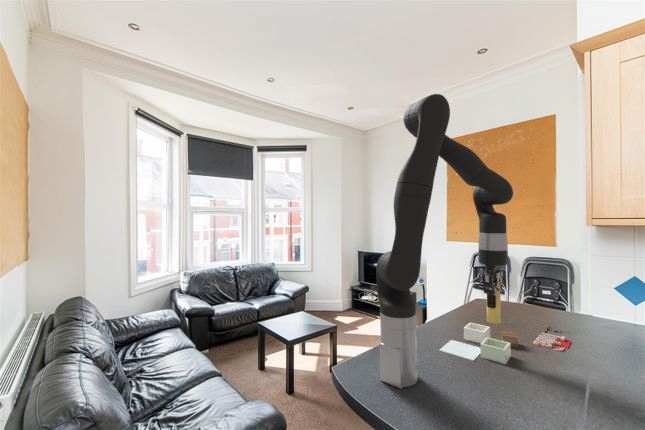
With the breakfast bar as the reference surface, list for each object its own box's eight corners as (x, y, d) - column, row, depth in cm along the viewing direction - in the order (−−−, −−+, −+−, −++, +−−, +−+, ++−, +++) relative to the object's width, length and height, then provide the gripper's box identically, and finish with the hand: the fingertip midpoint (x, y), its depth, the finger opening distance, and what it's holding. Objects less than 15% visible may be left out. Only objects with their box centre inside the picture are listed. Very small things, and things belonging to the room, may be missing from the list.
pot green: (505, 366, 82) (505, 350, 82) (480, 359, 86) (480, 343, 86) (511, 358, 86) (510, 342, 86) (487, 351, 91) (486, 337, 91)
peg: (499, 324, 84) (498, 293, 84) (485, 321, 87) (484, 291, 87) (502, 321, 87) (501, 291, 87) (488, 318, 89) (488, 289, 89)
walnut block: (517, 350, 92) (517, 337, 92) (503, 348, 93) (502, 335, 93) (515, 345, 95) (515, 332, 95) (501, 343, 97) (500, 331, 97)
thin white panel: (473, 363, 84) (473, 360, 84) (439, 352, 91) (439, 349, 91) (484, 351, 91) (483, 348, 91) (451, 342, 98) (451, 339, 98)
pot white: (484, 346, 95) (484, 332, 95) (464, 340, 99) (463, 327, 99) (490, 340, 99) (490, 326, 99) (470, 335, 104) (469, 322, 104)
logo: (543, 321, 111) (577, 328, 104) (543, 326, 111) (578, 333, 104) (524, 341, 95) (563, 351, 87) (524, 346, 95) (563, 357, 87)
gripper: (501, 251, 79) (502, 314, 79) (512, 247, 89) (513, 303, 89) (471, 249, 84) (472, 308, 84) (485, 245, 95) (486, 298, 94)
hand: (493, 305), depth 87 cm, fingers closed on peg, 3 cm apart
